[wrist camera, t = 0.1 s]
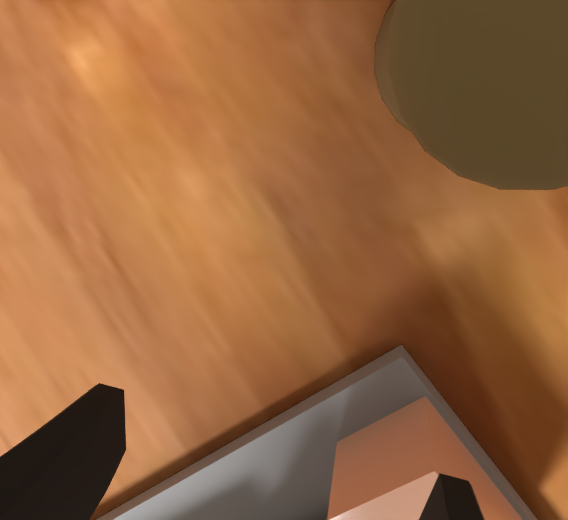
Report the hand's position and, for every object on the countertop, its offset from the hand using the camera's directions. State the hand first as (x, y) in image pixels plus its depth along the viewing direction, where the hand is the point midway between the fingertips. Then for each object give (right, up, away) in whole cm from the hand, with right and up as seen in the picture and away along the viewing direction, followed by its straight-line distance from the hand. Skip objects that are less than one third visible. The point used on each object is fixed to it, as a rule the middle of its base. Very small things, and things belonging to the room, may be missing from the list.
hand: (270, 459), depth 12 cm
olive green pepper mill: (+6, +12, +6) cm, 15 cm away
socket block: (+7, -5, +11) cm, 14 cm away
